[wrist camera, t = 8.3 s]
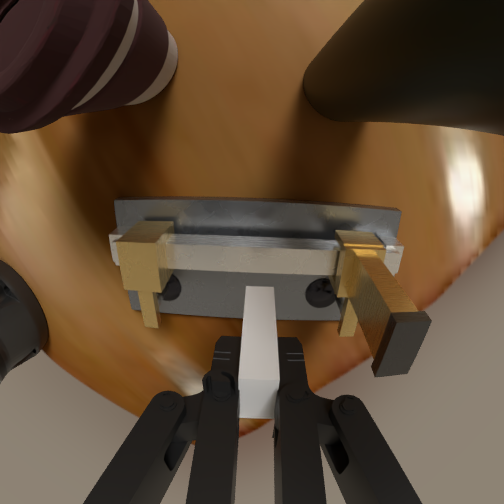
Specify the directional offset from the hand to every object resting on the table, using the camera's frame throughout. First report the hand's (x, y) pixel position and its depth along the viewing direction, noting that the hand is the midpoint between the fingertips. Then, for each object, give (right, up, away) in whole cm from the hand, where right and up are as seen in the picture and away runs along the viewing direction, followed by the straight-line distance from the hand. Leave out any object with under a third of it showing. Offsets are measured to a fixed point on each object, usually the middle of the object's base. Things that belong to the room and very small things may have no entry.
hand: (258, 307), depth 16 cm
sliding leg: (+7, +2, +8) cm, 11 cm away
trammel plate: (0, +2, +9) cm, 9 cm away
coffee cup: (-10, +18, +3) cm, 21 cm away
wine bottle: (+6, +16, +3) cm, 17 cm away
